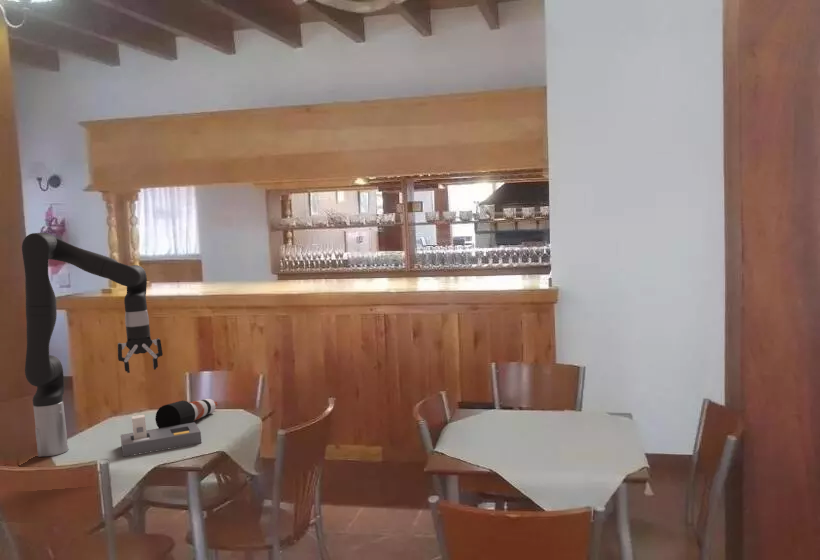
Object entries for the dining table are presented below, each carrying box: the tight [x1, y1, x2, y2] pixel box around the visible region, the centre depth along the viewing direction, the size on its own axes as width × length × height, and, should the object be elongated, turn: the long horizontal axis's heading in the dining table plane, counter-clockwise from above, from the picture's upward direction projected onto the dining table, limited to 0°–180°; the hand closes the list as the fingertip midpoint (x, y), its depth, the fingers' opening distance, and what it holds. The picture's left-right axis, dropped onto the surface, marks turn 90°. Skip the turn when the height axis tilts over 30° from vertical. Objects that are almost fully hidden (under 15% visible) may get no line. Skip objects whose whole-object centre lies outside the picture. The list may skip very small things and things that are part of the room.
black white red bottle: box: [155, 398, 219, 429], centre depth 280 cm, size 10×34×10 cm, turn 164°
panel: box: [120, 421, 203, 457], centre depth 253 cm, size 25×14×4 cm, turn 114°
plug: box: [131, 414, 147, 440], centre depth 249 cm, size 4×5×11 cm
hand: (141, 370), depth 251 cm, fingers open, 8 cm apart
